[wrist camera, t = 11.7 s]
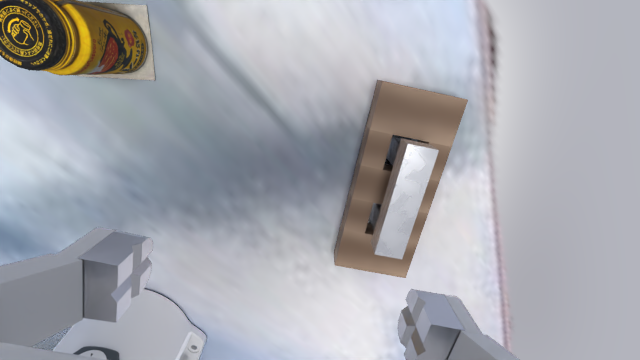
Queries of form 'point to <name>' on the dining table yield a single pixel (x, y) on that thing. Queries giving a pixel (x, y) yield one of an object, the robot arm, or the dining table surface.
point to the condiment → (77, 38)
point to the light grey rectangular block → (401, 196)
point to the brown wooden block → (373, 174)
